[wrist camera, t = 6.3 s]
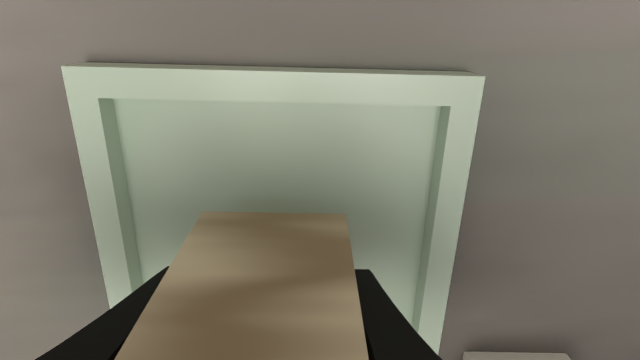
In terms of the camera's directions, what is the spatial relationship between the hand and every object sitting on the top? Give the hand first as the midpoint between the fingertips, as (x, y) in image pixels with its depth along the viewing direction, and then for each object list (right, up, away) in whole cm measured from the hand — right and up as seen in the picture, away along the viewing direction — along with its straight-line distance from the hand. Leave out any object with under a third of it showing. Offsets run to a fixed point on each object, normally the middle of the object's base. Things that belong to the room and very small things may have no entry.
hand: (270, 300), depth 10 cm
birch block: (0, 0, +2) cm, 2 cm away
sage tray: (0, +1, +3) cm, 3 cm away
